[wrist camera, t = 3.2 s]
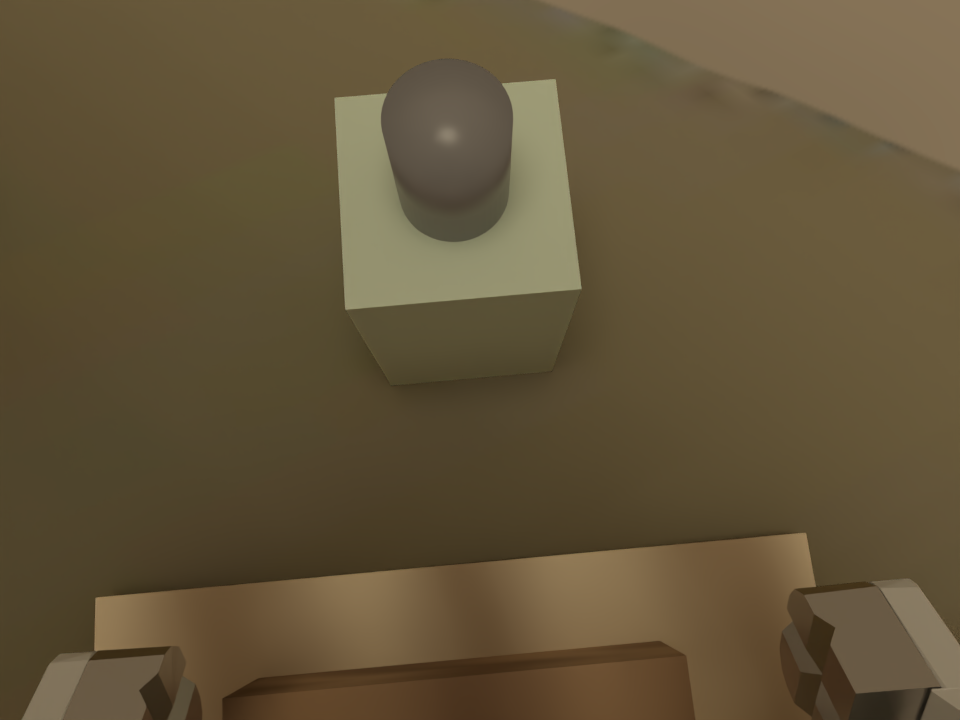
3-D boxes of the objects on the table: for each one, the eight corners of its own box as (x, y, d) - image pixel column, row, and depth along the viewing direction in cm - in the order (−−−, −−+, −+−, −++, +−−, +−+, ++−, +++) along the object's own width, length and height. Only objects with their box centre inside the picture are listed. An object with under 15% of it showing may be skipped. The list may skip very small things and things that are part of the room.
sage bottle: (391, 385, 24) (314, 259, 14) (381, 235, 26) (303, 9, 15) (551, 371, 24) (601, 234, 14) (535, 222, 26) (568, -14, 15)
